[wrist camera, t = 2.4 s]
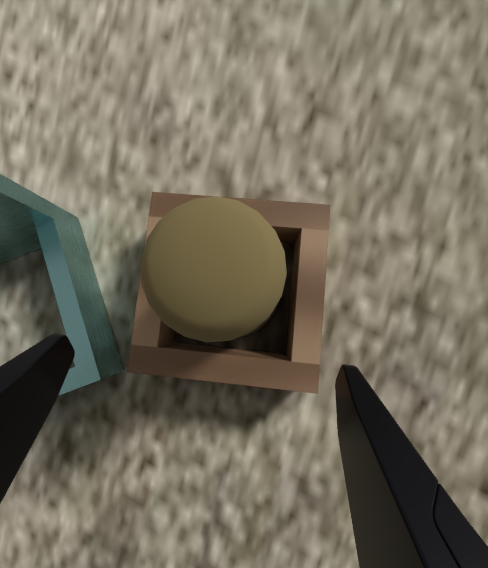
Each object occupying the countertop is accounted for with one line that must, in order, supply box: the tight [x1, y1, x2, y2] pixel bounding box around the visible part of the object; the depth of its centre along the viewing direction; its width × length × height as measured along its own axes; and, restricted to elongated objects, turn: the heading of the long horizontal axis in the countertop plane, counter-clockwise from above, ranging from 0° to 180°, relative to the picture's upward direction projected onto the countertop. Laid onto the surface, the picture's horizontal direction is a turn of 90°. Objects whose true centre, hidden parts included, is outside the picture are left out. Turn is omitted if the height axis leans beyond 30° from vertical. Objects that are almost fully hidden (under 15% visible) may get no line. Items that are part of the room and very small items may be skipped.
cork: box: [140, 196, 287, 342], centre depth 15 cm, size 6×6×11 cm
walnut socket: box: [127, 192, 330, 394], centre depth 18 cm, size 10×10×4 cm
